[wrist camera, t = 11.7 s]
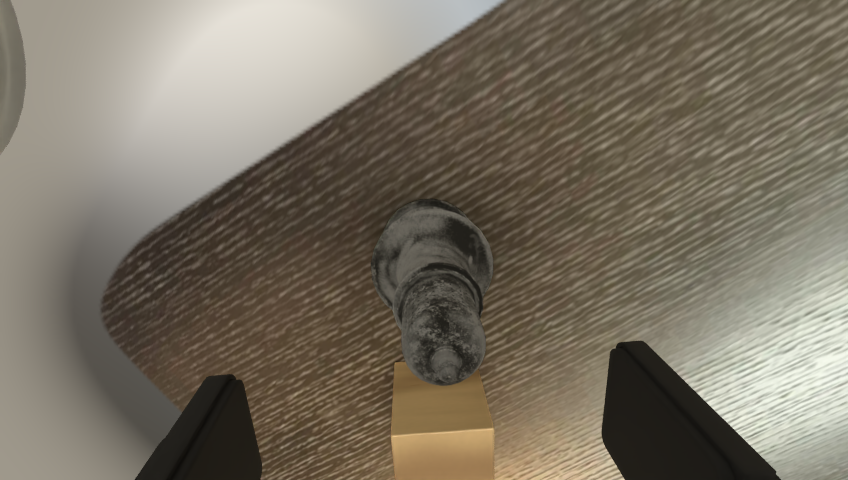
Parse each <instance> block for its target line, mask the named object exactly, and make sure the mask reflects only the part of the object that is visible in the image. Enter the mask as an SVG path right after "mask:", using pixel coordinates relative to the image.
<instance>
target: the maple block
mask: <svg viewBox="0 0 848 480" xmlns="http://www.w3.org/2000/svg"><path fill="white" fill-rule="evenodd" d="M391 444H392V454H393V464H394V475H395V480H494V426H493V422H492V418H491V414H490V410H489V407H488V403H487V399H486V395H485V392H484V388H483V384H482V380H481V377H480V373H479V369H477V370H476V371H475V372H474V373H473V374H472V375H471V376H470V377H469V378H467V379H465V380H463V381H462V382H460V383H457V384H453V385H448V386H439V385H433V384H429V383H427V382H425V381H422V380H420V379H419V378H418V377H417V376H415V375H414V374H413V373H412V372H411V370H410V369H409V368H408V366H407V364H406V362H395V363H394V381H393V401H392V421H391Z"/></svg>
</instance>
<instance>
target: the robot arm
mask: <svg viewBox="0 0 848 480" xmlns="http://www.w3.org/2000/svg"><path fill="white" fill-rule="evenodd" d="M602 439H603V442H604V445H605V447H606V449H607V450H608V452H609V454H610V455H611V457H612V459H613V460H614V462H615V464H616V465H617V467H618V469H619V470H620V472H621V474H622V475H623V477H624V479H625V480H781V479H780V478H779V477H778V476H777V475H776V471H775V470H774V469H773V468H772V467H771V466H770V465H769V464H768V463H767V462H766V461H765V460H764V459H763V458H762V457H761V456H760V455H759V454H758V453H757V452H756V451H755V450H754V449H753V448H752V447H751V446H750V445H749V444H748V443H747V442H746V441H745V440H744V439H743V438H742V437H741V436H740V435H739V434H738V433H737V432H736V431H735V430H734V429H733V428H732V427H731V426H730V425H729V424H728V423H727V422H726V421H725V420H724V419H722V418H721V417H720V416H719V415H718V414H717V413H716V412H715V411H714V410H713V409H712V408H711V407H710V406H709V405H708V404H707V403H706V402H705V401H704V400H703V399H702V398H701V397H700V396H699V395H698V394H697V393H696V392H695V391H694V390H693V389H692V388H691V387H690V386H689V385H688V384H687V383H686V382H685V381H684V380H683V379H682V378H681V377H680V376H679V375H678V374H677V373H676V372H675V371H674V370H673V369H672V368H671V367H670V366H669V365H668V364H667V363H666V362H665V361H663V360H662V359H661V358H660V357H659V356H658V355H657V354H656V353H655V352H654V351H653V350H652V349H651V348H650V347H649V346H648V345H647V344H646V343H645V342H643V341H631V342H620V343H618V344H617V346H616V349H612V350H611V352H610V359H609V368H608V377H607V387H606V396H605V405H604V414H603V423H602ZM261 473H262V462H261V458H260V453H259V449H258V445H257V440H256V436H255V432H254V427H253V423H252V419H251V414H250V410H249V406H248V401H247V397H246V393H245V388H244V384H243V382H242V380H236V378H235V376H234V375H232V374H229V375H217V376H209V377H207V378H206V379H205V380H204V381H203V383H202V384H201V386H200V387H199V389H198V390H197V392H196V393H195V395H194V396H193V398H192V399H191V401H190V402H189V404H188V405H187V407H186V408H185V410H184V411H183V412H182V414H181V416H180V417H179V418H178V420H177V421H176V423H175V424H174V426H173V427H172V429H171V430H170V432H169V433H168V435H167V436H166V438H165V439H163V440H162V442H161V443H160V444H159V445H158V446H157V448H156V449H155V451H154V452H153V454H152V455H151V457H150V458H149V460H148V461H147V462H146V464H145V465H144V467H143V468H142V470H141V472H140V473H139V474H138V476H137V477H136V479H135V480H260V478H261Z"/></svg>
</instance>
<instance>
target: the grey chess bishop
mask: <svg viewBox="0 0 848 480" xmlns="http://www.w3.org/2000/svg"><path fill="white" fill-rule="evenodd" d="M371 273H372V281H373V283H374V286H375V289H376V291H377V294H378V295H379V296H380V298H381V299H382V300H383V302H384V303H385V304H386V306H388V307H389V308H390V309H391V310H393V315H394V318H395V320H396V323H397V325H398V326H399V328H400V329H401V331H402V340H401V343H402V353H403V356H404V359H405V362H406V364H407V366H408V368H409V369H410V370H411V372H412V373H413V374H414V375H415V376H417V377H418V378H419V379H420V380H422V381H425V382H427V383H429V384H433V385H439V386H448V385H453V384H457V383H460V382H462V381H463V380H465V379H467V378H469V377H470V376H471V375H472V374H473V373H474V372H475V371H476V370H477V369H478V368H479V366H480V365H481V363H482V361H483V358H484V355H485V349H486V336H485V333H484V330H483V326H482V323H481V320H480V317H481V314H482V311H483V296H484V295H485V293H486V291H487V290H488V288H489V285H490V282H491V278H492V275H493V256H492V252H491V249H490V245H489V243H488V241H487V240H486V238H485V236H484V235H483V233H482V231H481V230H480V229H479V228H478V227H477V226H476V225H474V224H473V223H472V222H471V221H470V220H469V219H468V218H467V216H466V215H465V214H464V213H463V212H462V211H461V210H460V209H458V208H457V207H456V206H454V205H452V204H450V203H448V202H446V201H441V200H437V199H420V200H417V201H414V202H411V203H408V204H407V205H405V206H403V207H402V208H400V209H399V210H397V211H396V213H395V214H394V215H393V216H392V217H391V218H390V219H389V221H388V223H387V225H386V227H385V229H384V232H383V234H382V235H381V236H380V238H379V240H378V242H377V244H376V246H375V248H374V251H373V256H372V261H371Z"/></svg>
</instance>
